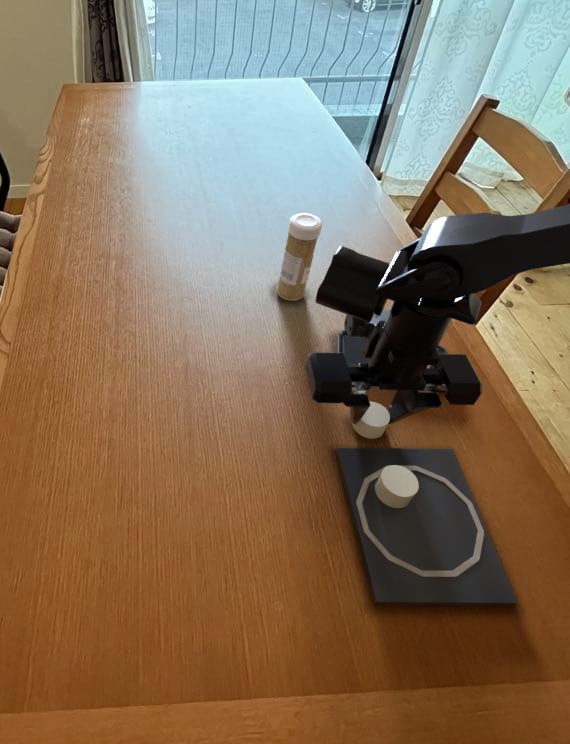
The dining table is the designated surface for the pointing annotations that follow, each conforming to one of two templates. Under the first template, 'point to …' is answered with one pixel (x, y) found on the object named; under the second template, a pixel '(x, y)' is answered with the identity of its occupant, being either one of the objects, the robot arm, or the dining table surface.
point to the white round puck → (396, 486)
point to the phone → (355, 355)
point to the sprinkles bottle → (298, 255)
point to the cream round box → (373, 421)
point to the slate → (422, 533)
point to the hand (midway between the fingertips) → (370, 421)
